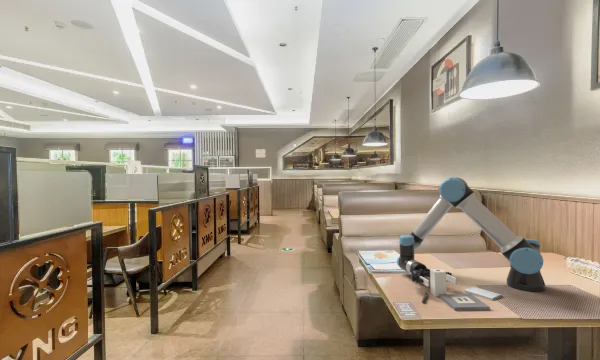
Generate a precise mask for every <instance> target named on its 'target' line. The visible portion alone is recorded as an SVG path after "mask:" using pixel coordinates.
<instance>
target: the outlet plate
mask: <svg viewBox="0 0 600 360" xmlns="http://www.w3.org/2000/svg"><path fill="white" fill-rule="evenodd" d="M439 298H440V299H441V300H442V301H443V302H444V303H446V304H447V305H448V306H449V307H450V308H451V309H452V310H453V311H490V310H491V307H490V306H489V305H488V304H486V303H485V302H483V301H482V300H481V299H479V298H478V297H477V296H475V295H472V294H469V293H446V294H439Z"/></svg>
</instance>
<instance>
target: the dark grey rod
mask: <svg viewBox="0 0 600 360" xmlns="http://www.w3.org/2000/svg"><path fill="white" fill-rule="evenodd" d="M428 296H429V292H425V293H424V296H423V298H422V300H421V303H422V304H425V302H426V300H427V298H428Z"/></svg>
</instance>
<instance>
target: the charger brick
mask: <svg viewBox="0 0 600 360" xmlns="http://www.w3.org/2000/svg"><path fill="white" fill-rule="evenodd" d="M446 272H447V271H446V270H443V269H442V268H430V277H429V278H430V280H429V286H430V293H431V294H432V296H434V297H435V298H438V297H439V294H447V280H446ZM439 298H440V297H439Z"/></svg>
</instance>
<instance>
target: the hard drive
mask: <svg viewBox="0 0 600 360" xmlns="http://www.w3.org/2000/svg"><path fill="white" fill-rule="evenodd" d="M463 292H464V293H465V294H472V295H473V296H475V297H480V298H483V299H486V300H489V301H496V300H498V299H499V298H502V297H503V295H502V294H501V293H497V292H494V291H491V290H487V289H484V288H480V287H476V286H471V287H469V288H466V289H464V290H463Z"/></svg>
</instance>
